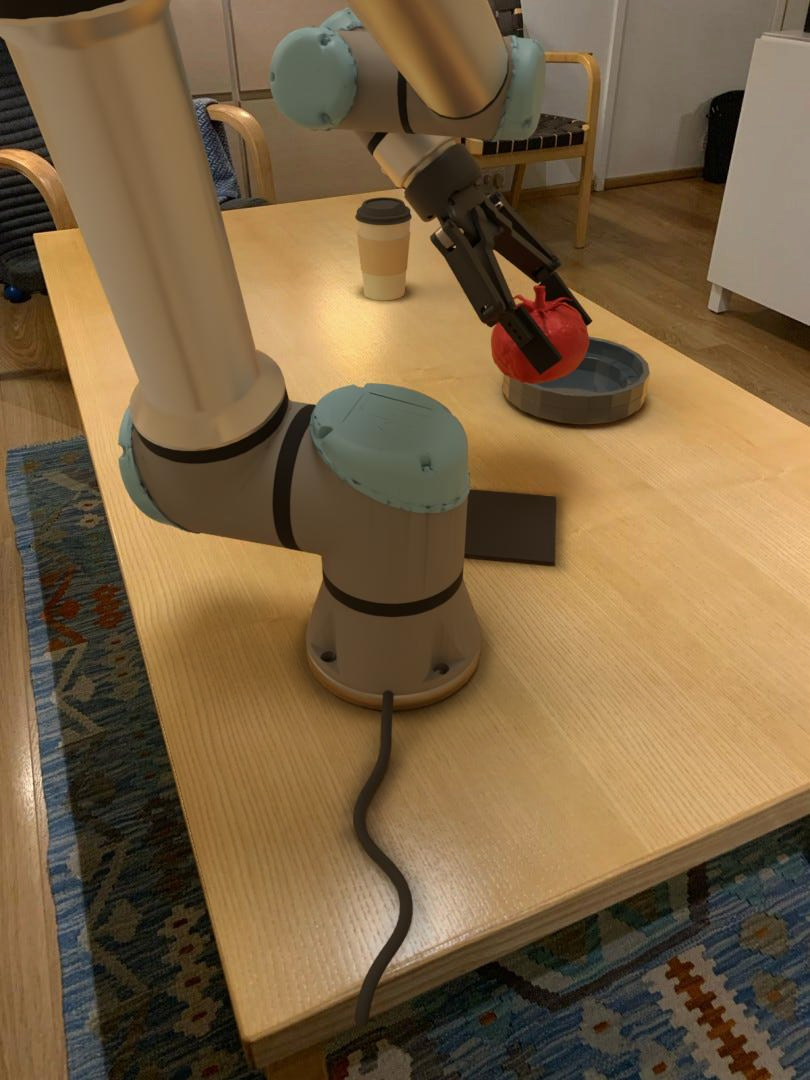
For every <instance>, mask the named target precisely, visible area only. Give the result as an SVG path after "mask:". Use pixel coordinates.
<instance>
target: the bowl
mask: <svg viewBox="0 0 810 1080" xmlns="http://www.w3.org/2000/svg"><path fill="white" fill-rule="evenodd" d="M649 367H650V365H649V363H648V362H647V361H646V360H645V358H644V357H643V356H642V355H641V354H640V353H638V352H637V351H635V350H633V349H631V348H630V347H628V346H626V345H624V344H621V343H618V342H615V341H613V340H608V339H604V338H599V337H594V336H589V347H588V350H587V352H586V354H585V357H584V359H583V361H582V362H581V363H580V364H579V366H578V367H577V368H576V369H575V371H573V372H571V373H570V374H568V375H567V376H564V377H561V378H559V379H557V380H553V381H549V382H543V383H537V384H530V383H522V382H519V381H518V380H517V379H514V378H510V377H508V376H506V375H505V374H503V376H502V377H503V379H502V392H503V395H504V396H505V397H506V399H507V401H508V402H510V404H512V405H513V406H515V407H516V408H518V409H519V410H520V411H522V412H524V413H527V414H530V415H531V416H534V417H536V418H540V419H543V420H548V421H552V422H557V423H561V424H573V425H595V424H606V423H612V422H615V421H619V420H622V419H626V418H628V417H630V416H632V415H633V414H635V413H636V412H638V411H639V410H640V409H641V407H642V406H643V404H644V403H645V401H646V396H647V391H648V385H649V380H650V374H651V371H650V368H649Z"/></svg>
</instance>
